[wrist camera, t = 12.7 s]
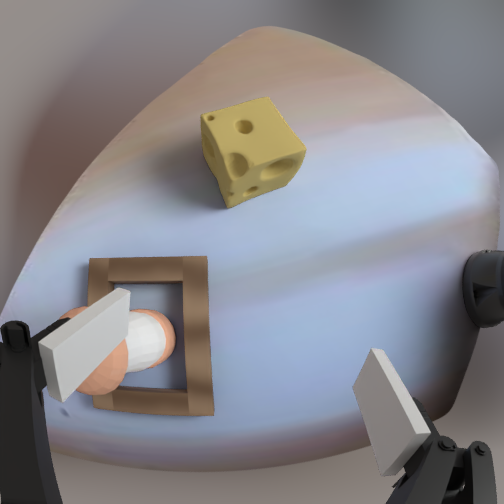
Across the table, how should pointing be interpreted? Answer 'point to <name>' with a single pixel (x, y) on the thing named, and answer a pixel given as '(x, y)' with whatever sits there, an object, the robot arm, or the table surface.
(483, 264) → the robot arm
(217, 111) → the cheese
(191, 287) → the rail frame
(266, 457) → the table surface
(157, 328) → the salt shaker
